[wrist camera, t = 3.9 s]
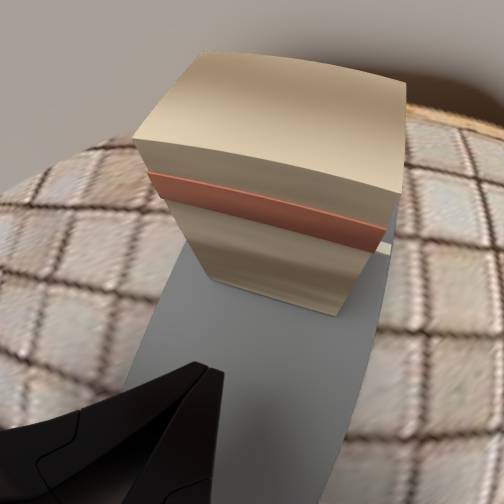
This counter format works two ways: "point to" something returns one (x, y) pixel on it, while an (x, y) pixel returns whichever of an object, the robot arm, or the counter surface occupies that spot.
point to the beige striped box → (279, 171)
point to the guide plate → (268, 374)
